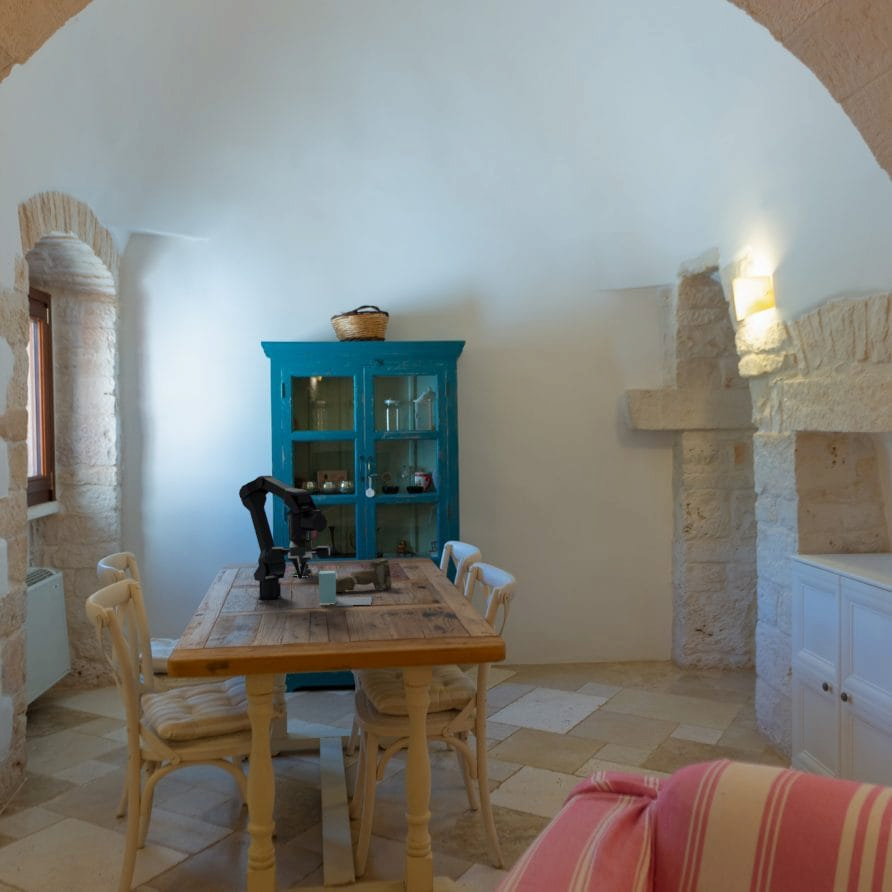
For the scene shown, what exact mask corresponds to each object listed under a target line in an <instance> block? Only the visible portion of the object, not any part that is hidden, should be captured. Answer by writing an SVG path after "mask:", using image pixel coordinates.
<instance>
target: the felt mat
mask: <svg viewBox="0 0 892 892" xmlns="http://www.w3.org/2000/svg"><path fill="white" fill-rule="evenodd" d="M372 600H373V597H372V596H359V597H355V596H354V597H338V598H337V600H336V604H335V606H343V607H354V606H353V605H371V606H372V604H371V603H372Z"/></svg>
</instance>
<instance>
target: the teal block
mask: <svg viewBox="0 0 892 892" xmlns="http://www.w3.org/2000/svg"><path fill="white" fill-rule="evenodd" d="M336 572H337V571H336V570H320V571H319V573H318V597H319V598H318V602H319V606H330V604H335V603H336V604H337V592H336V579H337V578H336ZM336 604H335V605H336Z"/></svg>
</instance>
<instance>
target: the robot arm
mask: <svg viewBox="0 0 892 892" xmlns="http://www.w3.org/2000/svg"><path fill="white" fill-rule="evenodd" d="M269 493H270V494H272V495H274V496H276V497H278V498H279V499H281V500H282V501H283V504H284V505H285V506H286V507H287V508H288V509H289V510H288V511H287V512H286V513H285V515H286V516H290V532H291V540H289V548H284V547H285V546H275V542H274V538H273V533H272V531H271V527H270V523H269V520H268V517H267V512H266V507H265V505H266V503H267V498H268V497H267V495H268V494H269ZM238 495H239V497H240V501H241V504H242V506H243V507H244V508H245V509H247V510H248V511H249V514H250V519H251V521H252V522H251V523H252V525H253V528H254V532H255V536H256V540H257V543H258V547H259V550H260V554H259V556H258V561H257V562H258V567H257V568H256V570H255V571H254V573H253V578H254V581H257V582H258V583H259V584H258V585H259V589H258V590H259V597H258V600H278V598H280V597H281V596H282V582H280V579H284V578H285V573H286V569H287V560H288V561H291V563H292V564H293V567H294V569H295V572H297V575H298V577H297V578H298V580H302V579H303V577H302V576H303V573H304V569H305V566H306V563H308V562H307V561H309V560H310V561H311V560H312V558H313V555H317V556H318V557H320V558H323V557H324V558H326V557H329V556H330V555H331V548H330V546H329V545H317V546H316V548H313V549H312V546H313V540H312V539H309V531H313V532H317V533H323V531H325V529H326V527H327V525H328V524H327V523H328V520H327V518H326V517H325V515H324V514H322V509H321V510H320V509H318V508H317V505H316V503H315V502H314V499H313V497H312V496H311V493H310V491H308V490H306V489H302V488H295V487H291V486H290V485H288V484H285V483H284V482H282V481H280V480H278V479H276V478H275V477H274V476H272V475H271V474H270V475H269V474H268V475H259V476H257V477H256V478H255V479H253V480H252V481H250V482H247V483H245V484H244V485H241V488H240V489H239V491H238ZM285 556H287V560H286V559H285ZM299 556H303V557H302V558H301V571H300V564H299Z"/></svg>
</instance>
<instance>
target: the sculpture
mask: <svg viewBox="0 0 892 892" xmlns="http://www.w3.org/2000/svg"><path fill="white" fill-rule="evenodd" d="M369 563H370V564H369V565H370V569H360V570H357V571H353V572H351V573H349V574H348V575H347V576H344V577H340V578H336V593H337V592H342V593H343V592H344V593H345V592H346V591H354V590H355V586H356V585H359V586H366V585H370V584H373V587H374V588H375V587H376V588H375V589H377V588H378V590H379V589H385V590H388V589H387V588H390V589H391V588H392V577H391V569H390V563H389V560H388V559H385V558H382V557H381V558H379V557H378V558H375V559H371V560H370V562H369Z"/></svg>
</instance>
